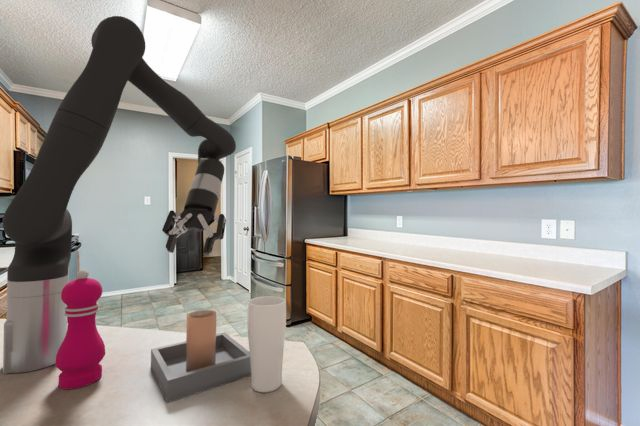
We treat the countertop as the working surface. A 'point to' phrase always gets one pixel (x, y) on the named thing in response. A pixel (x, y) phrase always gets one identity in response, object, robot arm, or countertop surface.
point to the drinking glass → (266, 341)
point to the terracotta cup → (200, 339)
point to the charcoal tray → (182, 383)
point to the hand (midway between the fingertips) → (187, 252)
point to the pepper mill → (80, 334)
